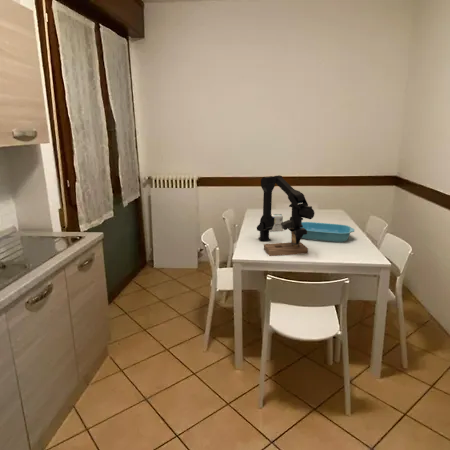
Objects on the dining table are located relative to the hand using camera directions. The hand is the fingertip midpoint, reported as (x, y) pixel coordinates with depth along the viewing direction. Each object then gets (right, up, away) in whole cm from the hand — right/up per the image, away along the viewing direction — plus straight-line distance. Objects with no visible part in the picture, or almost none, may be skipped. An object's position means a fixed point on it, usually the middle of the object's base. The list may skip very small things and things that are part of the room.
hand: (295, 242), depth 207 cm
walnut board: (-6, -5, 0) cm, 8 cm away
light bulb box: (-6, +6, +43) cm, 44 cm away
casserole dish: (+23, +2, +26) cm, 34 cm away
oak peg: (0, -4, +1) cm, 4 cm away
